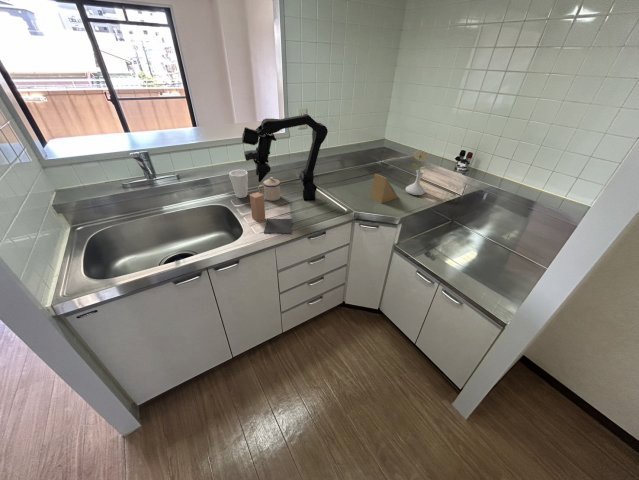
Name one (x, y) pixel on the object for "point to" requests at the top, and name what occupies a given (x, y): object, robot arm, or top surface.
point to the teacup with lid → (271, 189)
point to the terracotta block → (257, 206)
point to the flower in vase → (416, 187)
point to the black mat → (278, 226)
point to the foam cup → (239, 182)
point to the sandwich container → (382, 190)
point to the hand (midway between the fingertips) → (258, 178)
